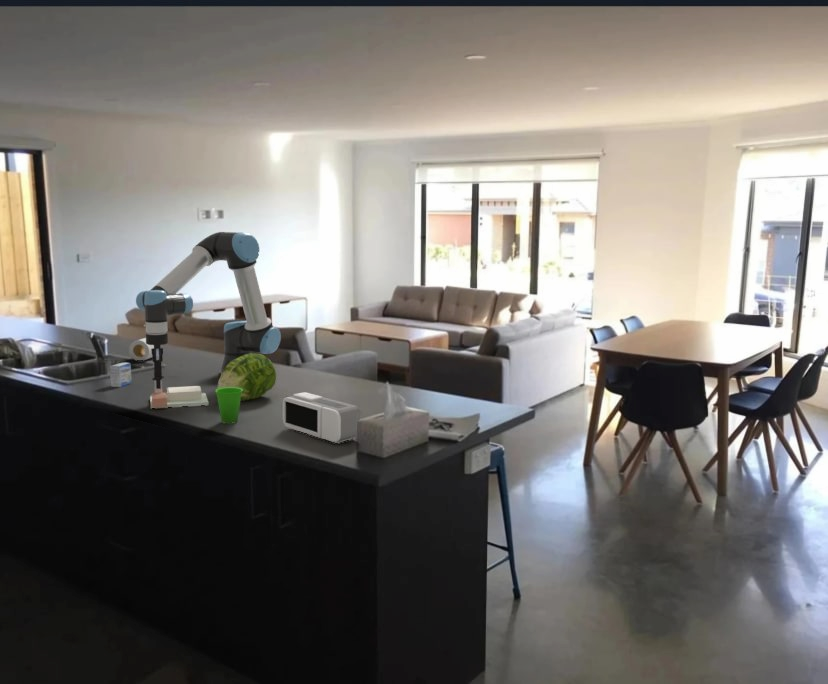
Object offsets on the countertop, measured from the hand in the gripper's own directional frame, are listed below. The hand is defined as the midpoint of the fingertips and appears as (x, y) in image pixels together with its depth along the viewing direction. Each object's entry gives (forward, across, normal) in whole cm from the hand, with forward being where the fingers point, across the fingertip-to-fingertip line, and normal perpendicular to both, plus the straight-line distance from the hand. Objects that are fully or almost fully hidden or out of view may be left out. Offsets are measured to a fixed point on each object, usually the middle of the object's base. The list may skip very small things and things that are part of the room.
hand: (158, 396), depth 269 cm
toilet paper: (+3, -91, -5) cm, 92 cm away
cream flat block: (+1, -3, +9) cm, 10 cm away
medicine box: (+3, -35, -14) cm, 38 cm away
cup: (+3, +32, +22) cm, 39 cm away
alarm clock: (+3, +54, +48) cm, 73 cm away
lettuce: (+3, +2, +31) cm, 31 cm away
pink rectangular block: (+1, +5, 0) cm, 5 cm away
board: (+3, 0, +7) cm, 8 cm away
